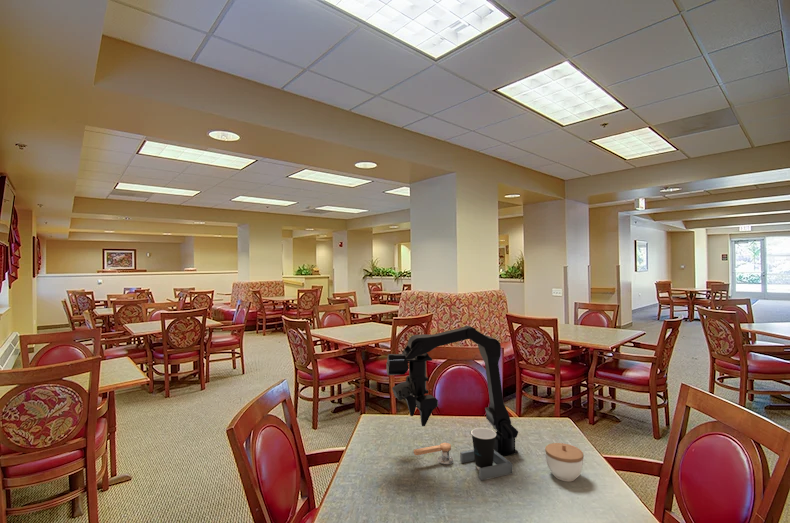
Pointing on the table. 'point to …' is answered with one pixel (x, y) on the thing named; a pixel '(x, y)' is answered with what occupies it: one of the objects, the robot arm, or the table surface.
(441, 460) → the post
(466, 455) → the holder
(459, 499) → the table surface
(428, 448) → the lever
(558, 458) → the lidded jar
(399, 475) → the table surface
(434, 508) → the table surface
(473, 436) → the dixie cup
